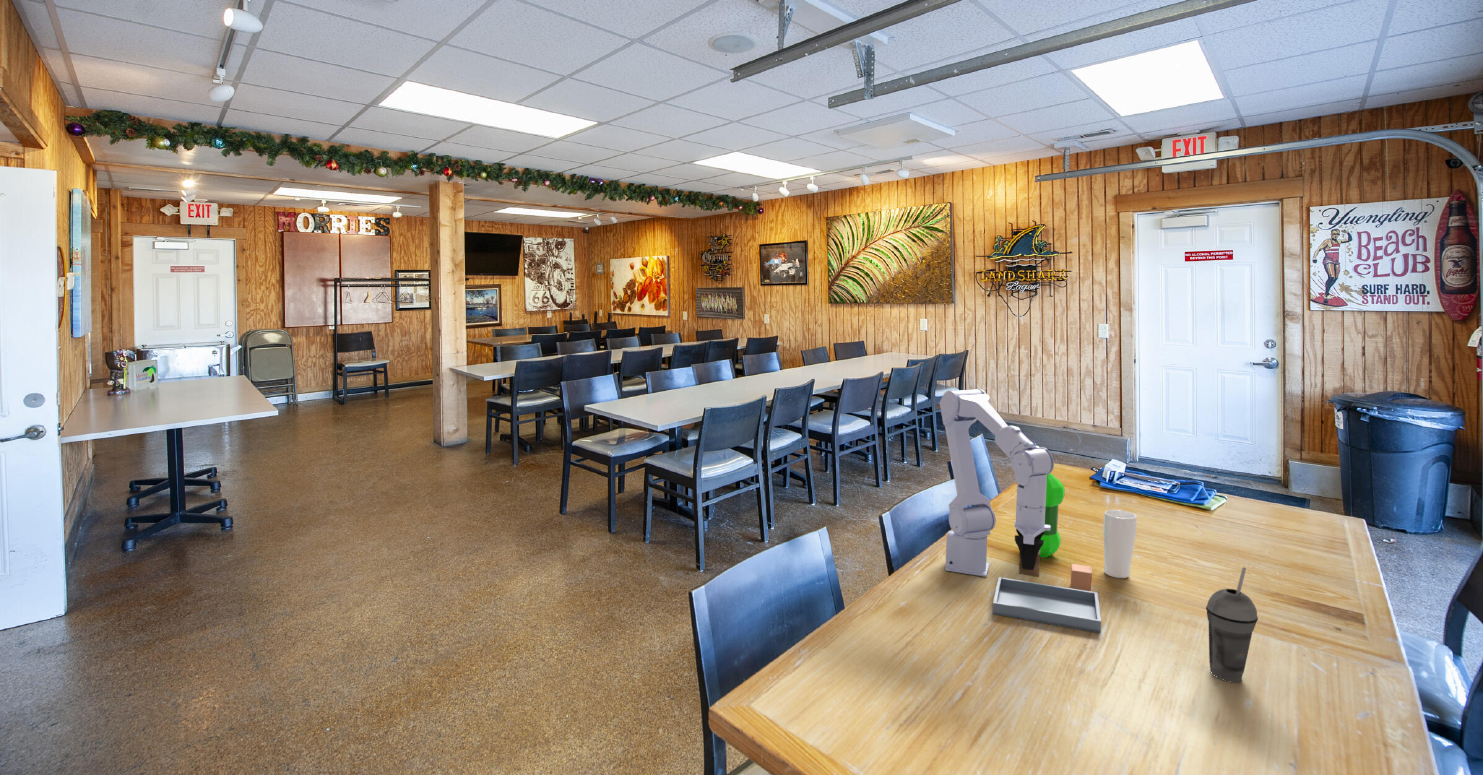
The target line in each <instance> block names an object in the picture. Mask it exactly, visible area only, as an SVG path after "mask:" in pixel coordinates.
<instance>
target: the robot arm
mask: <svg viewBox="0 0 1483 775" xmlns="http://www.w3.org/2000/svg"><path fill="white" fill-rule="evenodd" d="M939 407H940V414H941V418H942V424H943V426H944V428H945V434H946V440H947V444H948V452H949V456H950V457H949V458H950V461H951V468H952V474H953V479H954V484H955V490H956V496H955V497H954V498H953V499H952V500H951V501H950V503H949V504H948V510H949V512H948V514H949V515H948V524H949V527H950V529H951V530H948V532H947V536H946V546H945V568H944V569H945V571H946V572H953V573H954V572H955V573H960V574H966V575H972V576H980V577H987V575H988V571H989V567H990V563H989V562H987V560H988V559H987V554H988V536H989V535H991V531H992V530H994V528H995V527H996V522H997V518H996V513H995V511H994V510H993V508H992V505H991V499H989V498H988V497H987V496H985V495H983V494H982V493H981V491H980V486H979V485H980V484H979V481H978V476H977V469H976V465H975V458H974V453H973V448H972V443H971V442H972V441H971V438H970V437H971V436H970V432H969V429H970V427H971V426H972V424H974V423H976V422H977V421H979V423H981V424H982V425H983V427H985V428H987V429H988V430H989V431H990V432H991V433H992V434H993V435H994V436H995V438H994V441H995V442H994V443H995V444H996V445H997V446H998V448H999V449H1001V451H1002V452H1003V453H1004V454H1005V455H1006V456H1007V457H1008V458H1009V460H1010V461H1011V468H1012V471H1013V473H1014V480H1015V483H1016V504H1015V505H1016V507H1015V508H1016V509H1015V511H1016V512H1015V521H1014V528H1015V531H1016V533H1017V534H1015V535H1014V542H1015V544H1016V546H1017V548H1018V551H1019V554H1020V557H1021V564H1022V568H1023V569H1027V570H1033V569H1034V566H1035V563H1036V558H1037V555H1038V552H1039V550H1040V548H1041V547H1042V545H1043V543H1044V540H1040V539H1041V537H1042V536H1043V534H1044V531H1050V528H1051V526H1050V525H1045V506H1046V484H1047V474H1050V473H1051V474H1052V472H1053V470H1054V467H1055V461H1054V457H1053V455H1052V454H1051V452H1050V451H1049V449H1048V448H1046V447H1042V446H1041V447H1040V446H1038V445H1035V444H1034V442H1032V441H1031V440H1030V439H1029V438H1028V436H1026V435H1025V434H1024V433H1023V432H1022V430H1021V428H1020V427H1018V426H1015V425H1008V424H1007V422H1005V420H1004V419H1003V418H1002V417H1001V416H1000V414H999V413H998V412H997V411H996V409H995V408H994V407H993V406H992V405H991V398H990V396H989V395H988V394H987V393H986V391H985V390H983V389H981V388H975V389H965V390H964V389H963V390H961V389H960V390H946V391H945V392H944V393H943V394H942V397H941V399H940V400H939ZM973 505H974V506H973ZM968 506H969V507H968Z"/></svg>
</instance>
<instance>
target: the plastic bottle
mask: <svg viewBox="0 0 1483 775" xmlns="http://www.w3.org/2000/svg"><path fill="white" fill-rule="evenodd" d="M1064 486H1065V485H1064V484H1063V483H1062V482H1061V481H1060V480H1059V479H1058V478H1057V477H1056V476H1055V475H1053V474H1052V472H1051V473H1050V474H1047V484H1046V506H1045V525H1050V526H1051V528H1050V531H1044V534H1043V536H1042V537H1041V539H1040V540H1044V543H1043V545H1042V547H1041V548H1040V558H1048V556H1049V557H1050V556H1051V555H1053V554H1055V553H1056V552H1057V551H1058V550H1059V548H1060V546H1061V542H1062V540H1061V539H1062V538H1061V535H1060V533H1059V531H1058V522H1059V505H1060V504H1062V502H1063V500H1064V497H1065V494H1066V489H1065V488H1066V487H1064Z"/></svg>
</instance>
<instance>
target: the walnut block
mask: <svg viewBox="0 0 1483 775" xmlns="http://www.w3.org/2000/svg"><path fill="white" fill-rule="evenodd" d="M1040 559H1041V557H1040V550H1039V552H1038V555H1037V558H1036V563H1035V566H1034V569H1033V570H1027V569H1023V568H1022V564H1021V557H1020V553H1019V558H1018V560H1019V561H1018V575H1021V576H1029V577H1034V578H1040V565H1041V564H1040V561H1041V560H1040Z"/></svg>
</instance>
